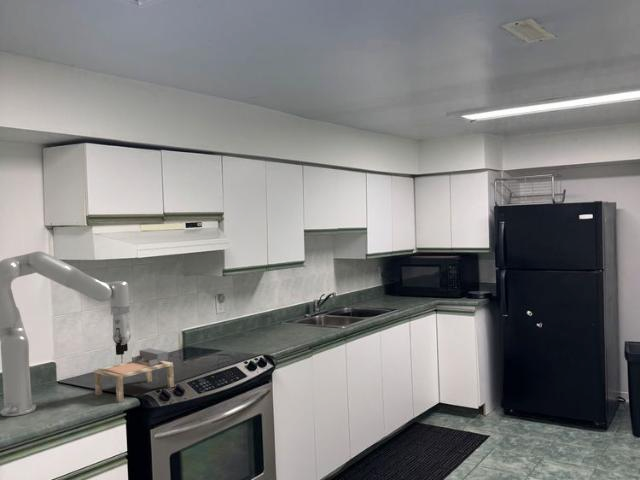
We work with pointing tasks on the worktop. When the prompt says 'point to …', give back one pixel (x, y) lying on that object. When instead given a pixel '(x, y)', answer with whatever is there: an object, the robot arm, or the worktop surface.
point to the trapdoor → (144, 354)
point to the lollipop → (125, 341)
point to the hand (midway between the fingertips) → (121, 352)
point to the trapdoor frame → (120, 377)
